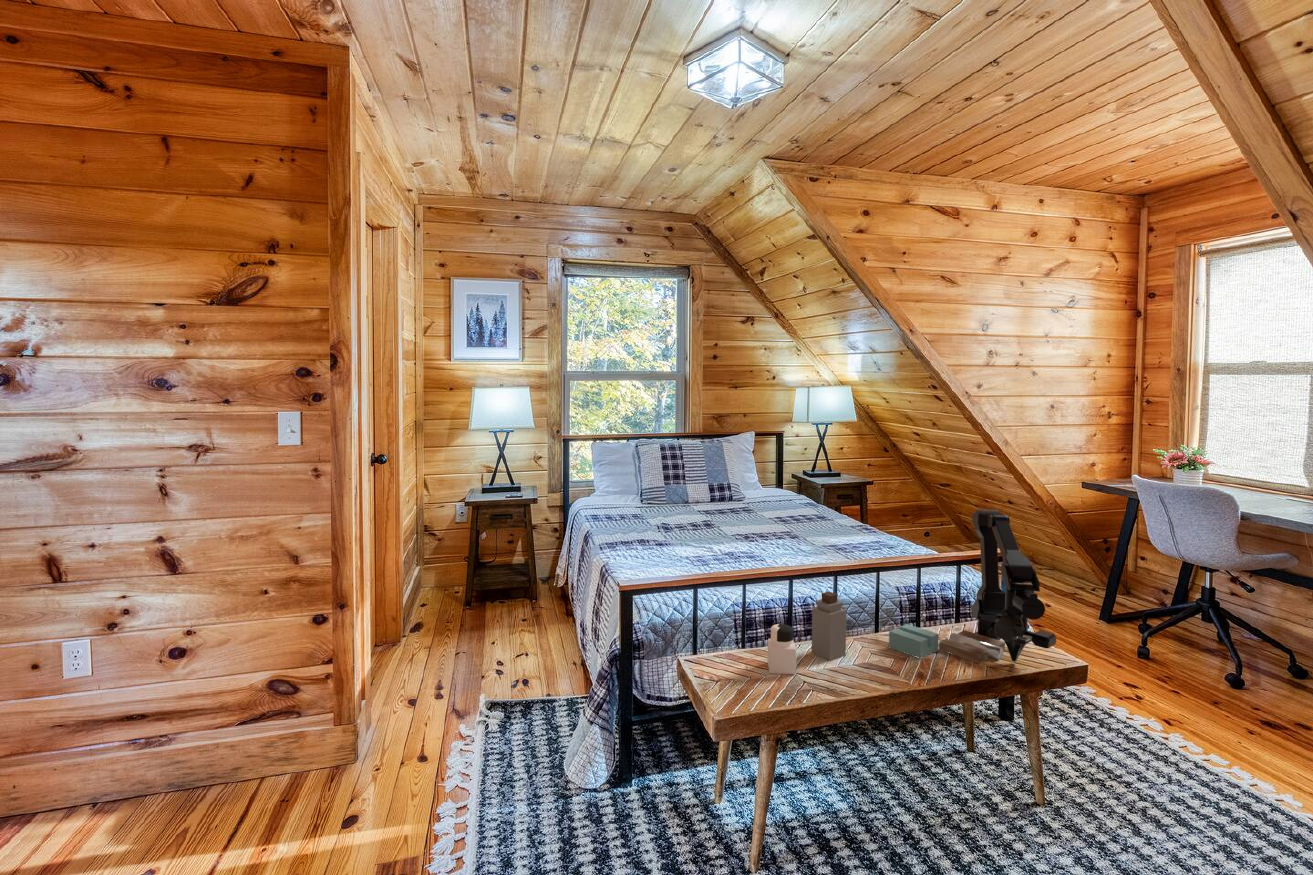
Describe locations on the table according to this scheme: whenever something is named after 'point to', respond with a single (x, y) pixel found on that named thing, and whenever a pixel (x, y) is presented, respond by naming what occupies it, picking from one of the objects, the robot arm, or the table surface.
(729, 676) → the table surface
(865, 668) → the table surface
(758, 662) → the table surface
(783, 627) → the medicine bottle
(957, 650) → the walnut beams
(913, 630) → the v-block
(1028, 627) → the robot arm
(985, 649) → the steel shaft
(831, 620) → the perfume bottle
